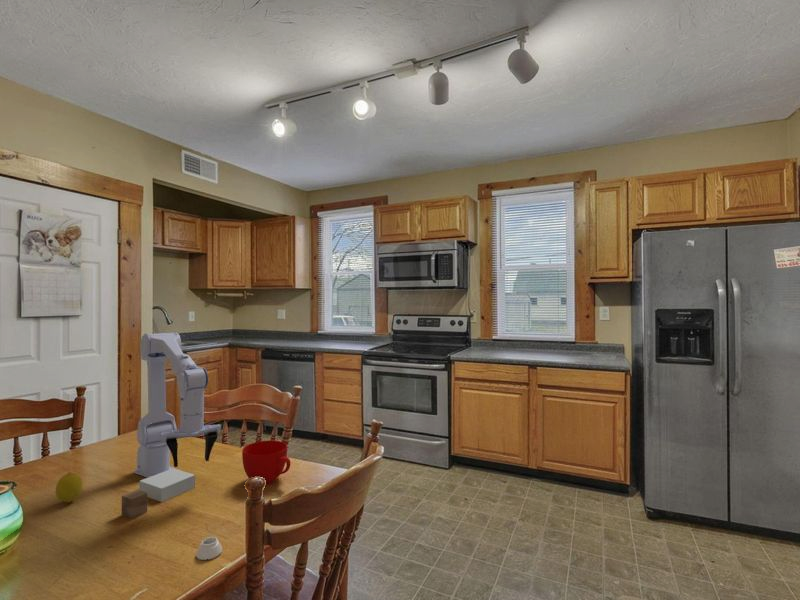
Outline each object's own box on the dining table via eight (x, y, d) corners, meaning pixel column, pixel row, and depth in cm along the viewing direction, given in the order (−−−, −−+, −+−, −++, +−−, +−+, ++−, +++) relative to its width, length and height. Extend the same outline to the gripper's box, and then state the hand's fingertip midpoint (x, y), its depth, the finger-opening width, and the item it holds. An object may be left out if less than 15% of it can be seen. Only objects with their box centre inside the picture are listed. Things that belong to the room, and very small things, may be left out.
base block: (139, 495, 115) (139, 480, 115) (173, 481, 124) (173, 468, 124) (161, 503, 111) (161, 488, 111) (195, 488, 120) (195, 474, 120)
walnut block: (121, 515, 104) (121, 495, 104) (137, 508, 107) (138, 489, 107) (130, 519, 102) (131, 499, 102) (147, 512, 105) (147, 492, 105)
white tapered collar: (212, 544, 92) (191, 556, 88) (212, 531, 92) (191, 542, 88) (227, 552, 89) (205, 564, 85) (227, 538, 89) (206, 550, 85)
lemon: (87, 499, 112) (87, 470, 112) (64, 509, 106) (65, 478, 106) (73, 496, 113) (73, 467, 113) (50, 505, 108) (50, 475, 108)
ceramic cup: (271, 498, 114) (271, 461, 114) (232, 483, 123) (232, 449, 123) (305, 481, 125) (305, 447, 125) (267, 468, 134) (267, 437, 134)
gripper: (163, 420, 105) (162, 473, 105) (223, 412, 114) (222, 462, 114) (160, 414, 111) (160, 464, 111) (218, 407, 119) (217, 454, 119)
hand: (191, 462), depth 113 cm, fingers open, 7 cm apart
